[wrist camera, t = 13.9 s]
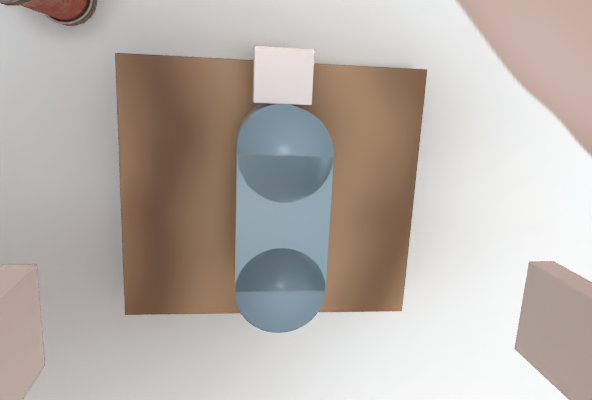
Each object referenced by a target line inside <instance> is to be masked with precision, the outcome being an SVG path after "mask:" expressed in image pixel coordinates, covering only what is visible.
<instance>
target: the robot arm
mask: <svg viewBox="0 0 592 400" xmlns="http://www.w3.org/2000/svg"><path fill="white" fill-rule="evenodd" d="M515 350H516V351H517V352H518V353H519V354H521V355H522V356H523V357H524V358H525V359H526V360H527V361H528V362H529V363H530V364H531V365H532V366H533V367H535V368H536V369H537V370H538V371H539V372H540V373H541V374H542V375H543V376H544V377H545V378H546V379H547V380H549V381H550V382H551V383H552V384H553V385H554V386H555V387H556V388H557V389H558V390H559V391H560V392H561V393H562V394H564V395H565V396H566V397H567V398H568V399H569V400H592V282H590V281H588V280H587V279H585V278H583V277H581V276H579V275H578V274H576V273H574V272H572V271H570V270H568V269H567V268H565V267H563V266H561V265H559V264H558V263H556V262H554V261H539V262H529V266H528V271H527V277H526V283H525V289H524V295H523V301H522V307H521V313H520V319H519V325H518V331H517V337H516V343H515ZM44 366H45V358H44V345H43V333H42V321H41V309H40V297H39V285H38V273H37V264H20V265H2V266H1V267H0V400H23V398H24V397H25V395H26V394H27V392H28V390H29V389H30V387H31V386H32V384H33V383H34V381H35V380H36V378H37V376H38V375H39V373H40V372H41V370H42V369H43V367H44Z"/></svg>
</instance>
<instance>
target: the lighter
mask: <svg viewBox="0 0 592 400" xmlns="http://www.w3.org/2000/svg"><path fill="white" fill-rule="evenodd" d="M0 3H2V4H5V5H21V6H24V7H27V8H30V9H33V10H35V11H38V12H41V13H44V14H45V15H46V16H47V17H48V18H49V19H51V20H52V21H55V22H58V23H61V24H64V25H67V26H74V25H79V24H81V23H84V22H86V21H87V20H88V19H89V18H91V16H92V15H93V13H94V12H95V10H96V5H97V0H0Z"/></svg>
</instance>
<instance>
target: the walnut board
mask: <svg viewBox="0 0 592 400" xmlns="http://www.w3.org/2000/svg"><path fill="white" fill-rule="evenodd" d="M115 62H116V88H117V114H118V140H119V166H120V191H121V217H122V243H123V269H124V295H125V315H138V314H214V313H240V311H239V309H238V306H237V304H236V299H235V218H236V155H237V132H238V127H239V125H240V122H241V120H242V119H243V117H244V116H245V114H246V113H247V112H248V111H249V110H251V109H252V108H253V107H255V106H256V105H258V104H261V103H253V101H252V97H253V60H237V59H219V58H200V57H181V56H163V55H144V54H125V53H115ZM426 76H427V70H424V69H405V68H387V67H368V66H349V65H331V64H314V70H313V90H312V105H299V104H291V105H293V106H296V107H299V108H301V109H304V110H306V111H308V112H310V113H312V114H313V115H315V116H316V117H317V118H318V119H319V120H320V121H321V122H322V123H323V124H324V125H325V127H326V128H327V130H328V132H329V134H330V136H331V139H332V142H333V148H334V163H333V179H332V195H331V211H330V227H329V242H328V258H327V274H326V290H325V297H324V301H323V303H322V306H321V308H320V310H319V311H318V312H366V311H402V304H403V295H404V285H405V276H406V266H407V257H408V247H409V238H410V228H411V219H412V209H413V200H414V190H415V181H416V171H417V162H418V152H419V142H420V133H421V123H422V114H423V104H424V95H425V85H426Z"/></svg>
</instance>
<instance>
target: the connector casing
mask: <svg viewBox="0 0 592 400" xmlns="http://www.w3.org/2000/svg"><path fill="white" fill-rule="evenodd" d="M314 50H315V49H303V48H285V47H267V46H255V47H254V53H253V97H252V101H253V103H261V104H258V105H256V106H255V107H253V108H252V109H251V110H249V111H248V112H247V113H246V114H245V116H244V117H243V119H242V120H241V122H240V125H239V127H238V132H237V155H236V218H235V299H236V304H237V306H238V309H239V311H240V313H241V314H242V315H243V317H244V318H245V319H246V320H247V321H248V322H249V323H251V324H252V325H253V326H255V327H257V328H259V329H261V330H264V331H268V332H276V333H281V332H288V331H292V330H295V329H298V328H300V327H302V326H303V325H305V324H307V323H308V322H309V321H310V320H311V319H312V318H313V317H314V316H315V315H316V314H317V313H318V311H319V310H320V308H321V306H322V303H323V301H324V297H325V290H326V274H327V258H328V242H329V227H330V211H331V195H332V179H333V163H334V148H333V142H332V139H331V136H330V134H329V132H328V130H327V128H326V127H325V125H324V124H323V123H322V122H321V121H320V120H319V119H318V118H317V117H316V116H315V115H313V114H312V113H310V112H308V111H306V110H304V109H301V108H299V107H296V106H293V105H291V104H299V105H312V90H313V70H314Z"/></svg>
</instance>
